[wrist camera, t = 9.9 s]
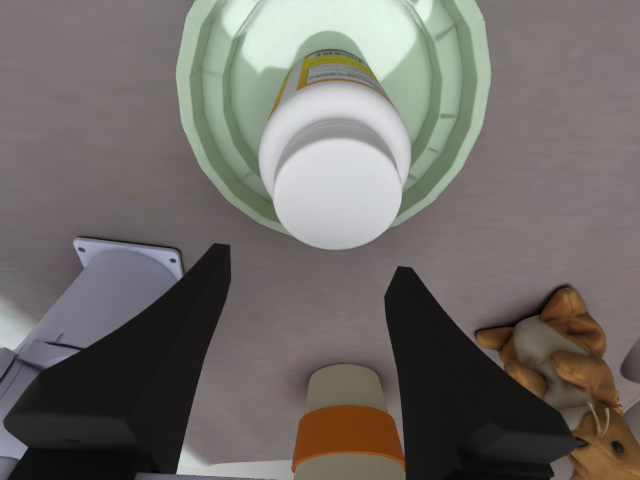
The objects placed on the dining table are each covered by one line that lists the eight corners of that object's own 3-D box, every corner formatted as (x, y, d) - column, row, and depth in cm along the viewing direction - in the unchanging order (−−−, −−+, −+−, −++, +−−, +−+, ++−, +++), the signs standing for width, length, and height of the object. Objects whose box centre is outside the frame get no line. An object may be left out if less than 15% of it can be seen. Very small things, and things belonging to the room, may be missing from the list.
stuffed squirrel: (566, 278, 27) (716, 455, 17) (613, 341, 33) (742, 499, 23) (462, 325, 31) (529, 487, 21) (520, 373, 38) (594, 516, 27)
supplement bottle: (313, 167, 20) (306, 287, 12) (260, 85, 17) (202, 173, 9) (395, 122, 18) (453, 230, 10) (352, 21, 15) (387, 58, 7)
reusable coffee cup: (361, 409, 44) (375, 557, 33) (280, 391, 41) (264, 549, 30) (414, 370, 37) (455, 543, 26) (321, 345, 34) (320, 531, 22)
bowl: (406, 218, 23) (419, 254, 20) (212, 190, 21) (193, 224, 18) (512, -34, 14) (567, -40, 11) (191, -109, 12) (148, -142, 9)
